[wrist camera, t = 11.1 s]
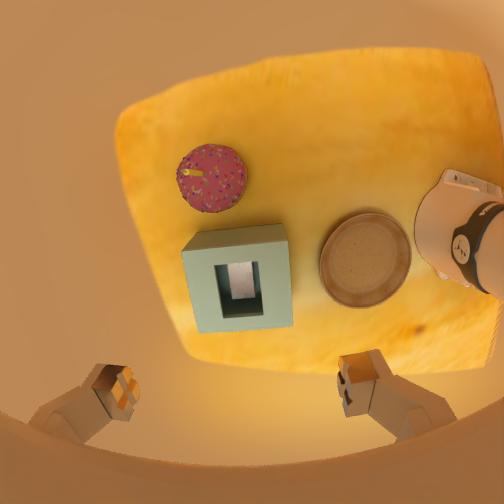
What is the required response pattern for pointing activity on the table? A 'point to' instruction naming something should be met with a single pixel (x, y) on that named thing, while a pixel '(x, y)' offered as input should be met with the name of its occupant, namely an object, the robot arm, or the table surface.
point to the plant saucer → (365, 261)
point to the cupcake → (212, 178)
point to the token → (242, 280)
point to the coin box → (218, 284)
